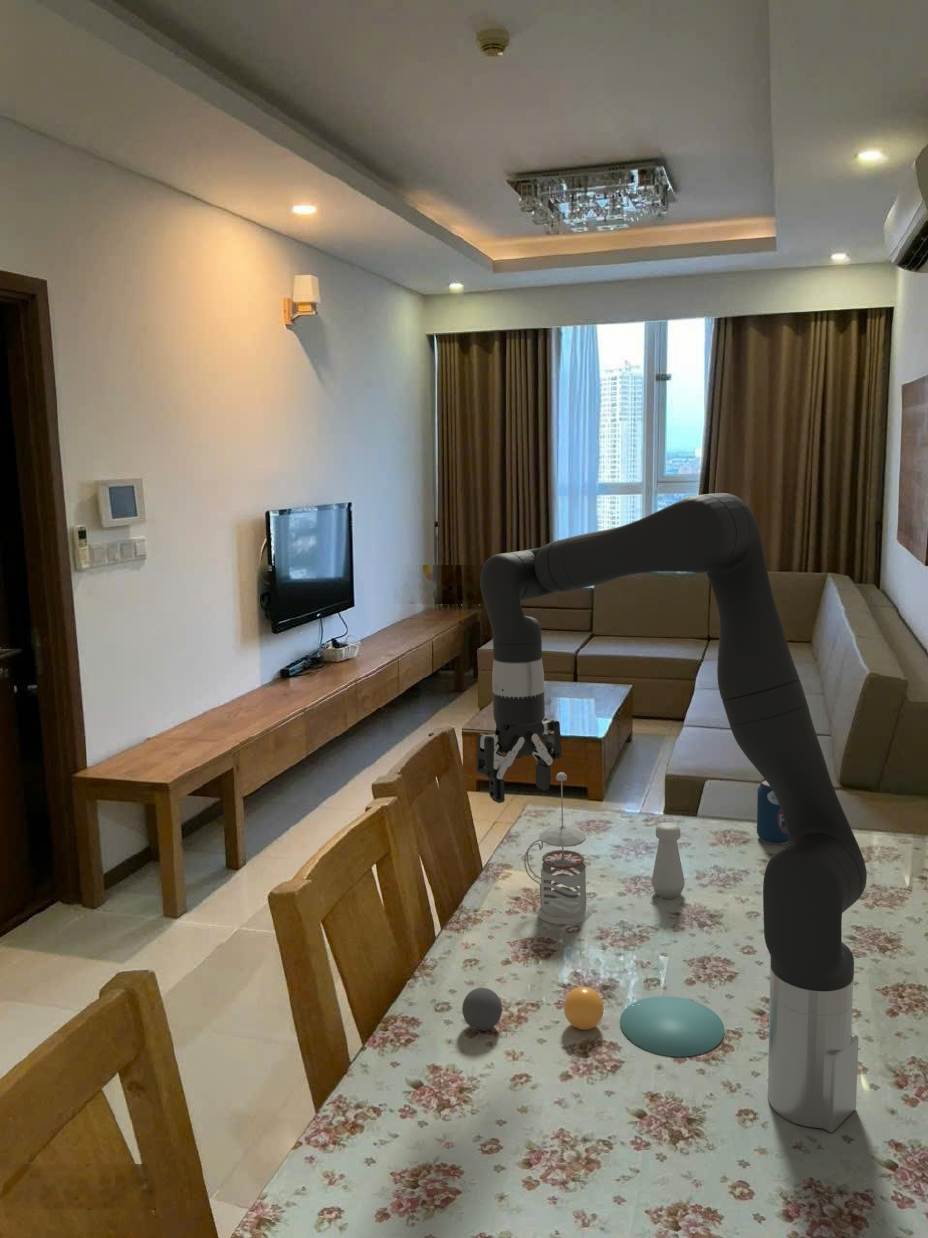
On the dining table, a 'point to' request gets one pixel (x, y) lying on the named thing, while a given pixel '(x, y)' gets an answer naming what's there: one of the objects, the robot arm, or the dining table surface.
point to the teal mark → (672, 1026)
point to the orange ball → (583, 1008)
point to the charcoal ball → (482, 1009)
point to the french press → (561, 874)
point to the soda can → (770, 817)
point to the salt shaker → (668, 863)
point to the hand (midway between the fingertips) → (520, 794)
